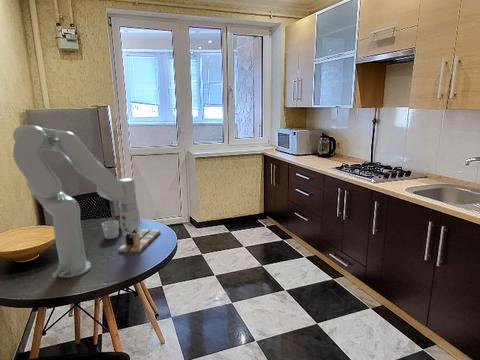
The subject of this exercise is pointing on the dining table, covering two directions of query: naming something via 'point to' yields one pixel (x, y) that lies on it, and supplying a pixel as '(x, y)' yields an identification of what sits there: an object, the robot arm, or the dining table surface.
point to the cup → (110, 229)
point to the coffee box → (115, 211)
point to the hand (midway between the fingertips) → (132, 242)
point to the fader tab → (134, 239)
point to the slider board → (141, 241)
